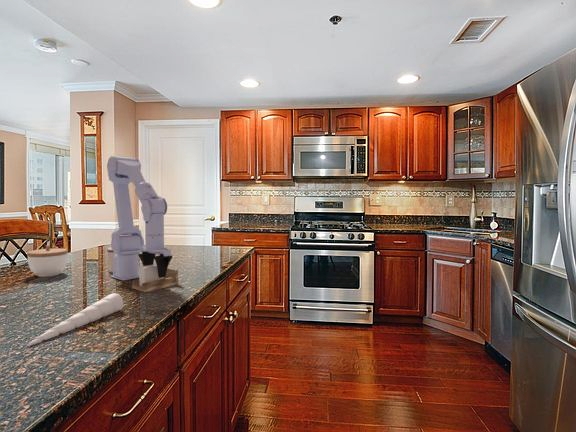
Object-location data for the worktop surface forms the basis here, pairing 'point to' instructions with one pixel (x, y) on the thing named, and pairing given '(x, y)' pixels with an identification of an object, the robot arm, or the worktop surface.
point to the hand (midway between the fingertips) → (155, 275)
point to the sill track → (158, 282)
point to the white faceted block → (148, 274)
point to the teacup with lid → (110, 259)
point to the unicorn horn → (84, 317)
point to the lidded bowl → (47, 261)
